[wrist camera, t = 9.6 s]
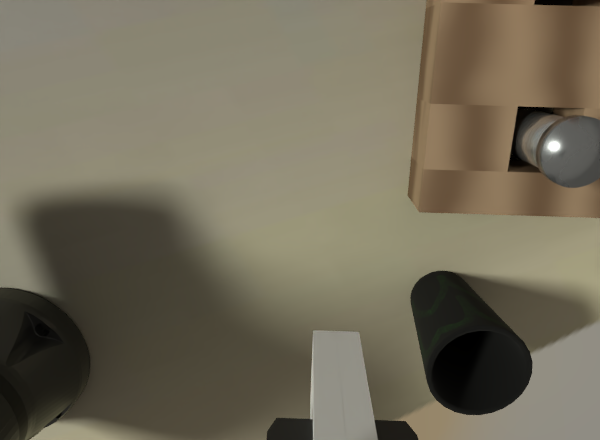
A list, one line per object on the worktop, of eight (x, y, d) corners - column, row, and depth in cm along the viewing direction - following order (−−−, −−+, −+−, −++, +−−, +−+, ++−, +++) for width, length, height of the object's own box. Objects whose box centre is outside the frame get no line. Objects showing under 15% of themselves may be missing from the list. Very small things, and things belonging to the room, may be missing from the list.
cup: (497, 295, 48) (554, 370, 37) (437, 346, 50) (475, 433, 39) (441, 244, 47) (484, 306, 35) (382, 299, 48) (405, 374, 37)
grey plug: (491, 160, 43) (536, 186, 34) (499, 102, 41) (549, 115, 33) (547, 162, 43) (606, 189, 34) (558, 104, 41) (622, 117, 33)
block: (407, 195, 45) (419, 212, 40) (438, -115, 38) (456, -140, 33) (609, 201, 45) (645, 219, 40) (681, -109, 37) (735, -133, 33)
